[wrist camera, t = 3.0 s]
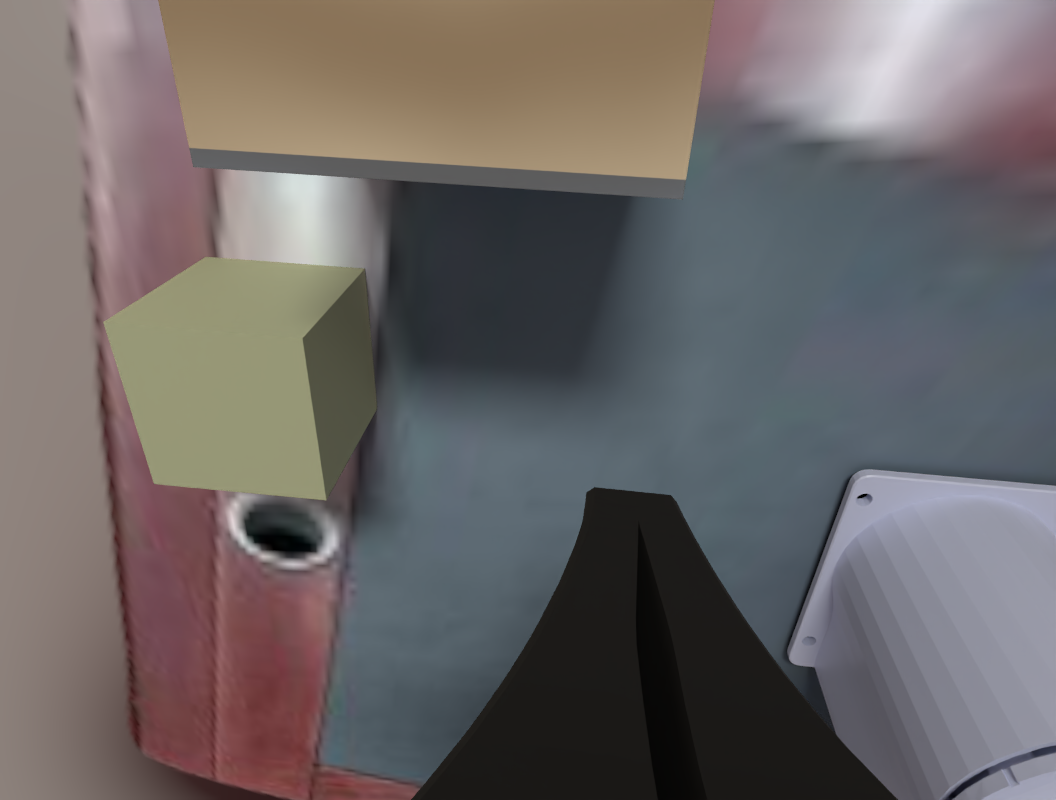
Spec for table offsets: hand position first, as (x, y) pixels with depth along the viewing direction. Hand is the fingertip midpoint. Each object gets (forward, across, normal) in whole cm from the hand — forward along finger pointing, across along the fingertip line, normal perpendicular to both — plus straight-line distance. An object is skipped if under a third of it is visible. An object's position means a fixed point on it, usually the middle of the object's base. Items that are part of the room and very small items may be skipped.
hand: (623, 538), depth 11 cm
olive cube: (+11, +10, +2) cm, 15 cm away
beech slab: (+11, +4, -7) cm, 13 cm away
